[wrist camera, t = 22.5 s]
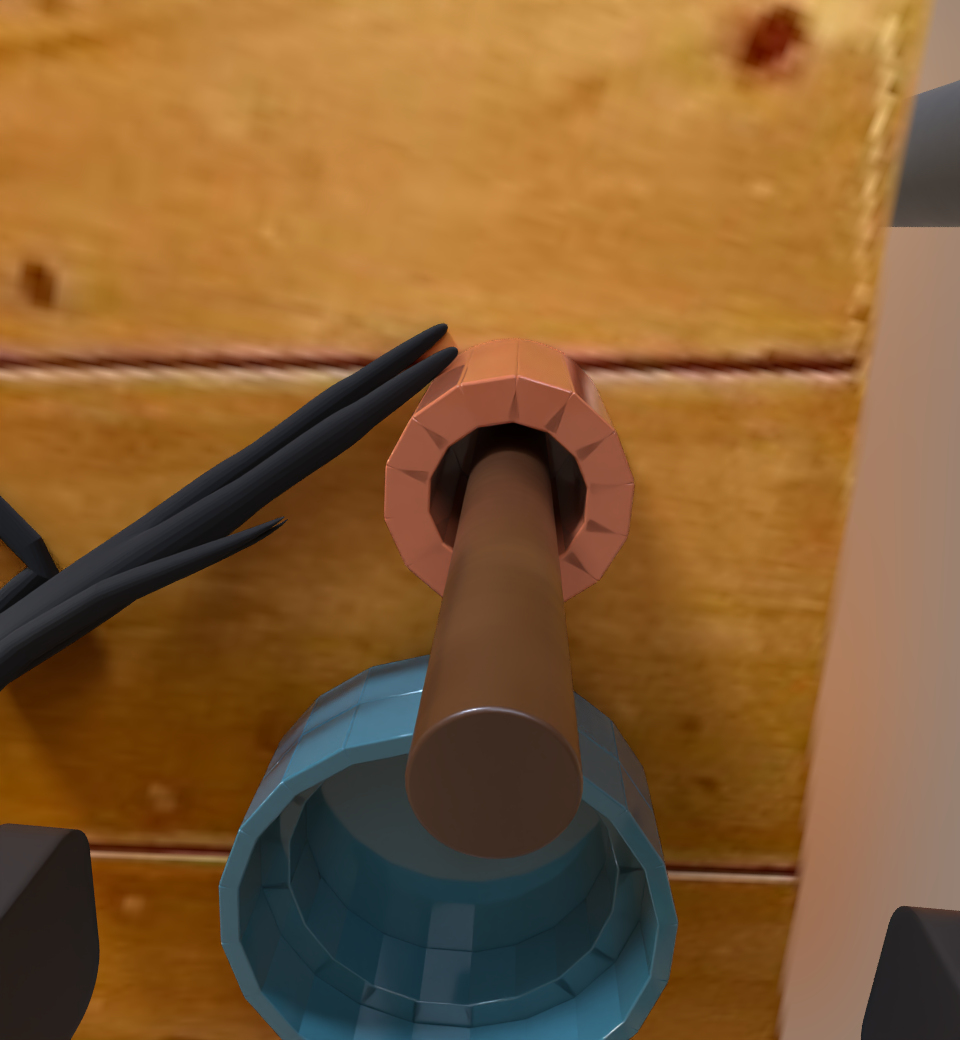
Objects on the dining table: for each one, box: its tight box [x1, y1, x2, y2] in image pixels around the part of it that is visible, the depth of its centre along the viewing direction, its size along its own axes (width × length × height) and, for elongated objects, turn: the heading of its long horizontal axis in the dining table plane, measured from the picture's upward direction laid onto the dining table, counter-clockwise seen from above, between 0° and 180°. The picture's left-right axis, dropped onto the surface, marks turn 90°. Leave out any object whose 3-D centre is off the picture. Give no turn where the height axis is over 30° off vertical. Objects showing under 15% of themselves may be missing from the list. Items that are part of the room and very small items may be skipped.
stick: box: [405, 423, 583, 859], centre depth 20 cm, size 2×2×20 cm
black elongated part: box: [0, 324, 458, 691], centre depth 29 cm, size 8×9×25 cm
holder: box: [384, 339, 635, 602], centre depth 27 cm, size 6×6×8 cm
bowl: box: [219, 655, 678, 1040], centre depth 33 cm, size 15×15×6 cm
